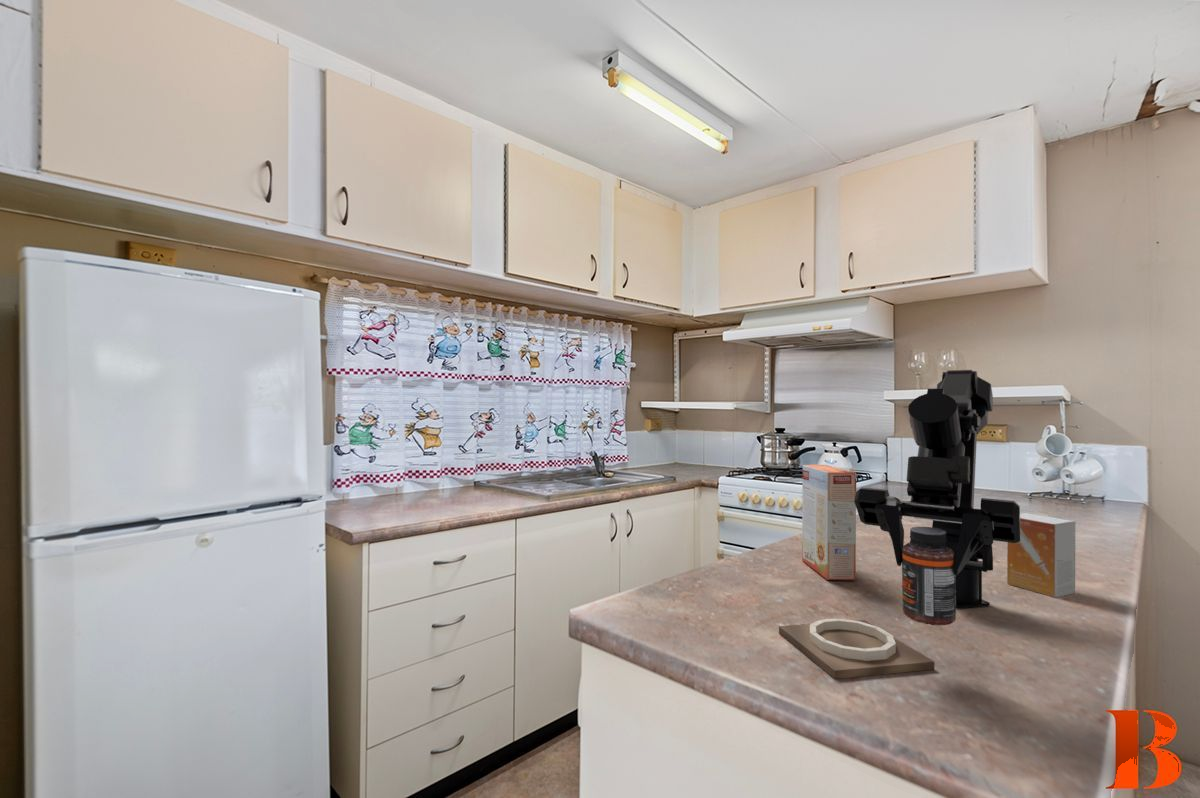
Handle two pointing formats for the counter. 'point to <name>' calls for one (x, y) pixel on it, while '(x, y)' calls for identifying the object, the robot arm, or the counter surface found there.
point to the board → (846, 667)
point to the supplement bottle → (928, 577)
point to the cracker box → (829, 521)
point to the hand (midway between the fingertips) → (926, 568)
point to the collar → (852, 652)
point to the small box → (1043, 556)
